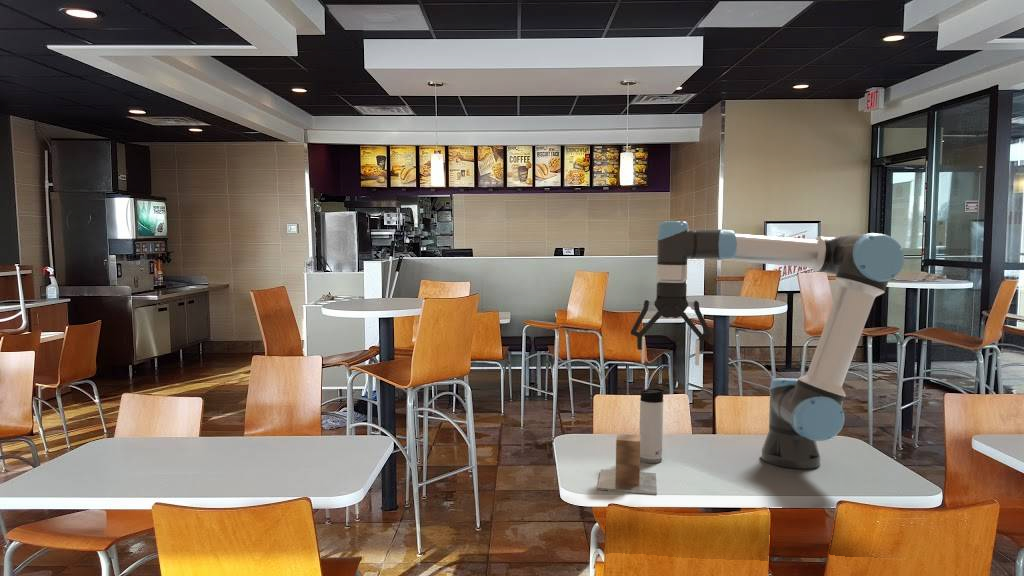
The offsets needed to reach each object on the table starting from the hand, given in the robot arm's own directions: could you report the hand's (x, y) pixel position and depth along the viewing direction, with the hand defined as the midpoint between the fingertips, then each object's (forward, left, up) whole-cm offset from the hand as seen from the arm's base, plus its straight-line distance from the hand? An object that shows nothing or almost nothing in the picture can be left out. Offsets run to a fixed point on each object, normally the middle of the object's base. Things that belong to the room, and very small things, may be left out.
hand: (669, 363), depth 173 cm
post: (+10, +10, -29) cm, 32 cm away
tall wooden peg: (+10, +10, -28) cm, 31 cm away
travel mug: (+4, -10, -29) cm, 31 cm away
